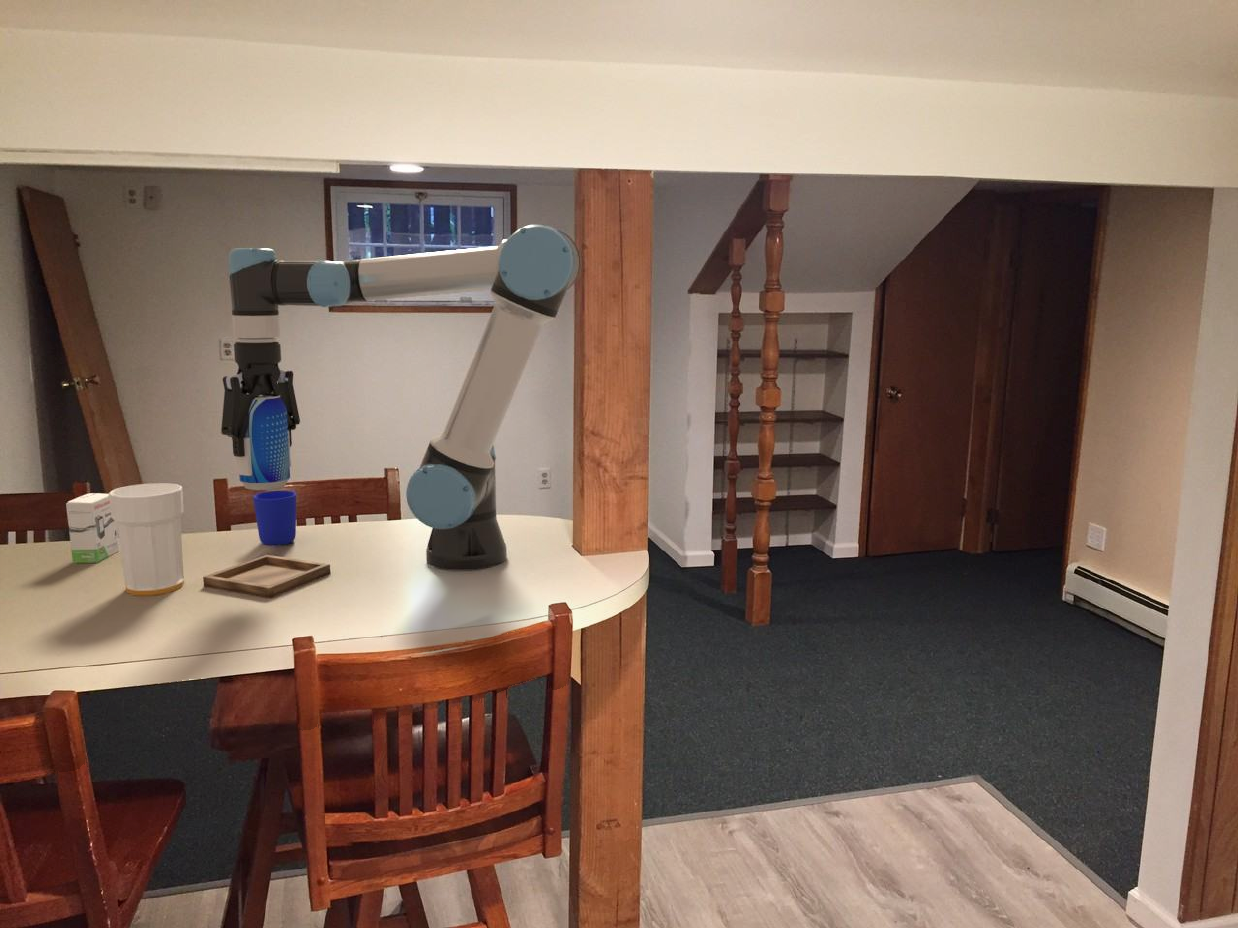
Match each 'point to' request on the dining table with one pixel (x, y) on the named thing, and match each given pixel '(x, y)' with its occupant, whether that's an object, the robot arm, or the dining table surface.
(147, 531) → the cup
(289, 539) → the mug
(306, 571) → the tray
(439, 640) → the dining table surface
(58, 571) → the dining table surface
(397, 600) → the dining table surface
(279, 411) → the beer can
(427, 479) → the robot arm
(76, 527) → the ink box
